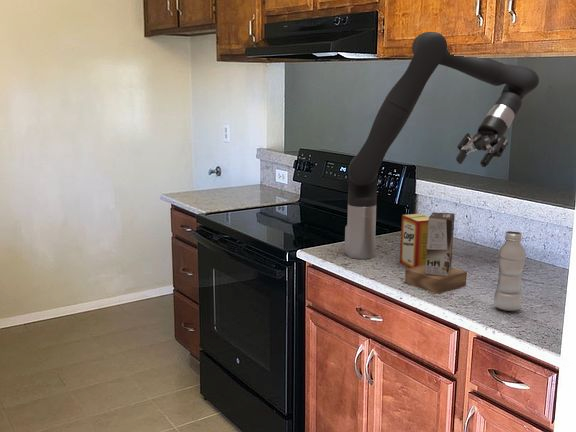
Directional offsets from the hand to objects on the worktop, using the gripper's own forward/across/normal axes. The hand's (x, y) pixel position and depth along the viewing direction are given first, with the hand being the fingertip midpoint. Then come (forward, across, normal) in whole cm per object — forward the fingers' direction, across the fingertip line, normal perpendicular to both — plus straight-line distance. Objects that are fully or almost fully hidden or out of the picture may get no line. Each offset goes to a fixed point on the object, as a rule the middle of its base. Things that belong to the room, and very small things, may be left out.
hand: (470, 163), depth 182 cm
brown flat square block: (+36, +4, +11) cm, 37 cm away
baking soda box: (+29, -11, +17) cm, 36 cm away
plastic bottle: (+36, +28, +10) cm, 47 cm away
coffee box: (+33, +5, +8) cm, 34 cm away
